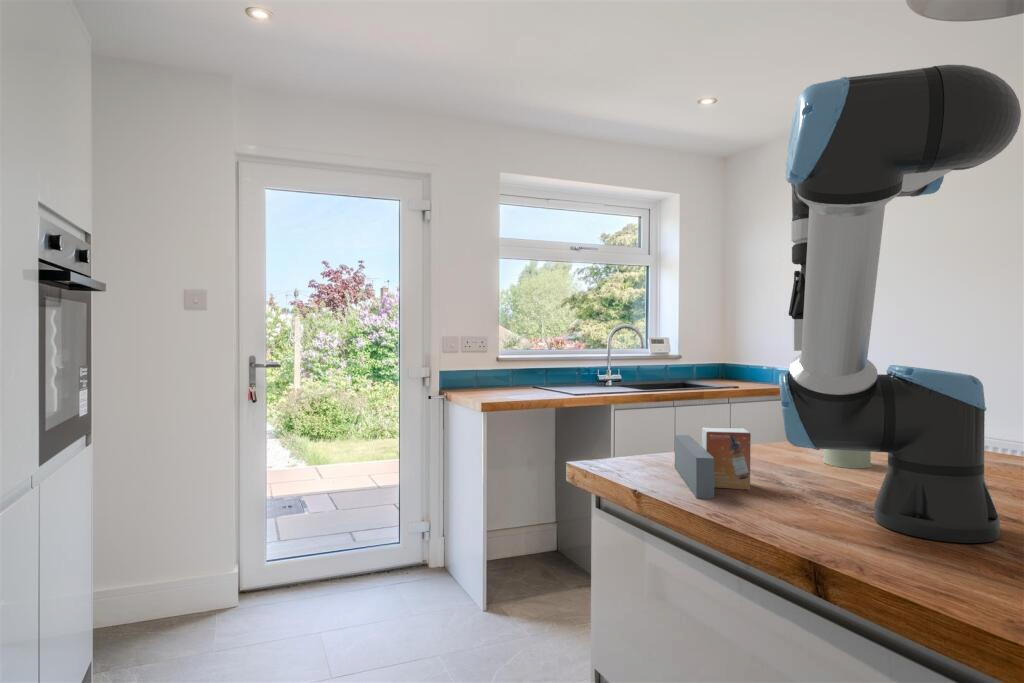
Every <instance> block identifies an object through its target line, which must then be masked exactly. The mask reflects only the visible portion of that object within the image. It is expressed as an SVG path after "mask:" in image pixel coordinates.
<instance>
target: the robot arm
mask: <svg viewBox="0 0 1024 683" xmlns="http://www.w3.org/2000/svg"><path fill="white" fill-rule="evenodd" d="M792 116H793V117H792V121H791V126H790V132H789V138H788V146H787V156H786V163H785V179H786V182H787V183H789V184H790V185H791V208H792V209H791V212H792V213H791V214H792V215H791V216H792V218H791V242H792V243H794V244H793V246H791V262H792V264H794V265H800V266H801V268H800V270H794V273H793V286H792V292H791V297H790V303H789V307H788V308H789V310H788V316H789V317H791V319H792V351H793V352H801V353H800V354H799V355H798V356H796V357H795V358H794V359H793V360H792V361H791V362H790V365H789V371H786V372H781V373H780V374H779V375H778V384H779V385H778V386H779V392H780V393H779V394H780V395H779V396H780V401H781V403H780V404H781V412H782V419H783V426H784V433H785V434H784V435H785V438H786V440H787V441H788V443H789V444H790V445H792V446H793V447H796V448H806V449H813V450H815V451H819V450H824V449H832V450H850V451H869V452H870V453H873V452H874V453H887V470H886V473H885V476H884V479H883V481H882V484H881V486H880V488H879V491H878V494H877V496H876V499H875V502H874V505H873V506H874V508H873V510H874V511H873V512H874V513H873V517H874V518H873V519H874V521H875V522H876V523H877V524H879V525H881V526H882V527H884V528H886V529H888V530H892V531H894V532H897V533H900V534H905V535H909V536H913V537H918V538H922V539H927V540H933V541H939V542H947V543H948V542H949V543H960V544H961V543H962V544H980V543H981V544H983V543H989V542H994V541H996V540H998V539H1000V537H1001V525H1000V524H1001V521H1000V517H999V515H998V512H997V509H996V507H995V504H994V502H993V499H992V496H991V494H990V491H989V489H988V486H987V483H986V480H985V422H986V421H985V416H986V414H985V412H987V407H986V400H985V392H984V391H985V390H984V385H983V382H981V380H980V379H979V378H978V377H976V376H974V375H971V374H968V373H960V372H954V371H953V372H952V371H947V370H938V369H933V368H931V369H930V368H922V367H915V366H907V365H906V366H905V365H897V364H891V365H888V368H887V370H886V371H885V373H886V374H881V373H880V374H878V369H877V367H876V366H875V363H873V362H872V361H870V360H869V359H868V357H869V348H870V340H871V331H872V323H873V321H872V320H873V312H874V305H875V297H876V296H875V295H876V287H877V278H878V270H879V262H880V252H881V245H882V244H881V243H882V237H883V236H882V235H883V226H884V219H885V209H886V205H887V204H888V203H889V202H891V201H893V200H894V199H895V198H898V197H899V198H900V197H901V198H902V197H914V198H915V197H921V196H924V195H925V196H926V195H932V194H936V193H937V192H938V191H940V189H941V186H942V184H943V182H944V179H945V175H948V174H949V173H951V172H952V171H963V170H968V169H972V168H975V167H978V166H980V165H982V164H984V163H986V162H988V161H991V160H992V159H993V158H995V157H996V156H998V155H999V154H1000V153H1002V152H1003V151H1004V150H1005V149H1006V148H1007V147H1009V145H1010V143H1011V142H1012V141H1013V139H1014V138H1015V136H1016V134H1017V132H1018V129H1019V127H1020V123H1021V118H1022V109H1021V105H1020V101H1019V98H1018V96H1017V94H1016V93H1015V91H1014V89H1013V87H1011V86H1010V85H1009V84H1008V83H1007V82H1006V81H1005V80H1004V79H1003V78H1002V77H1000V76H999V75H997V74H995V73H992V72H990V71H989V70H986V69H983V68H980V67H976V66H970V65H966V64H943V65H942V64H941V65H934V66H931V67H922V68H915V69H905V70H899V71H890V72H889V71H888V72H881V73H873V74H863V75H855V76H848V77H846V76H842V77H840V78H837V79H833V80H827V81H823V82H822V81H821V82H817V83H813V84H811V85H809V86H807V87H806V88H805V89H804V90H803V91H802V92H801V94H800V95H799V97H798V99H797V102H796V105H795V108H794V112H793V115H792Z"/></svg>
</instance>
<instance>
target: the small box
mask: <svg viewBox="0 0 1024 683" xmlns="http://www.w3.org/2000/svg"><path fill="white" fill-rule="evenodd" d="M751 437H752V436H751V432H750V431H749V430H747V429H746V428H743V427H741V428H736V427H734V428H733V427H732V428H731V427H730V428H728V427H727V428H726V427H722V428H721V427H718V428H717V427H702V428H701V446H702V447H703V448H704V449H705V450H706V451H707V452H708V453H709V454H710V455H711V456H712V457H714V488H718V489H719V488H720V489H733V490H734V489H735V490H744V489H748V490H747V491H750V489H751V439H752V438H751Z"/></svg>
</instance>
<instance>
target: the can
mask: <svg viewBox="0 0 1024 683" xmlns="http://www.w3.org/2000/svg"><path fill="white" fill-rule="evenodd" d="M823 462H824V463H823ZM822 463H823V464H825V463H826V464H825V465H827V464H829V465H828V466H830V465H832V466H831V467H835V466H837V468H841V467H844V468H843V469H856V470H857V469H868V468H871V467H872V461H871V452H869V451H850V450H832V449H823V460H822Z"/></svg>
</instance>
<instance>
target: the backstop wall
mask: <svg viewBox="0 0 1024 683" xmlns="http://www.w3.org/2000/svg"><path fill="white" fill-rule="evenodd" d="M674 470H676V472H677V474H678V475H679V476H680V477H681V479H682V481H683V482H684V483H685V484H686V486H687V487H688V489H689V491H690V492H691V493H692V494H693V495H694V497H695V498H696V499H715V487H714V457H712V456H711V455H710V454H709V453H708V452H707V451H706V450H705V449H704V448H703V447H702V445H701V444H700V443H698V441H696V439H694V437H692V436H690V435H689V434H674Z"/></svg>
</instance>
